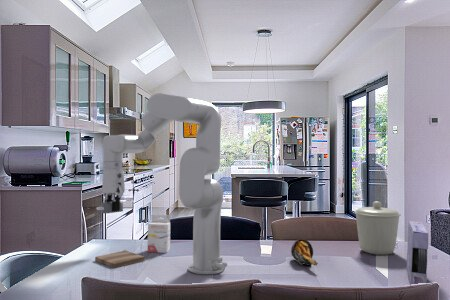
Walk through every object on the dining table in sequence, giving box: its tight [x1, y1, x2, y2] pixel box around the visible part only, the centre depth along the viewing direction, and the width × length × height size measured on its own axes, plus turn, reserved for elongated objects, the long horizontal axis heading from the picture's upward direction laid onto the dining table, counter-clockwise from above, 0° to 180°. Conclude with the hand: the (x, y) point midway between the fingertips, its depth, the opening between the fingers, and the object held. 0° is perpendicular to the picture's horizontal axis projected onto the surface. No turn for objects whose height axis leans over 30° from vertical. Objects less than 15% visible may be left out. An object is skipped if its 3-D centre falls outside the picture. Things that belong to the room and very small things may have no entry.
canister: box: [354, 200, 402, 256], centre depth 161 cm, size 18×18×21 cm
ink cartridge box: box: [147, 214, 171, 254], centre depth 160 cm, size 9×5×15 cm, turn 84°
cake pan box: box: [406, 220, 429, 285], centre depth 126 cm, size 19×5×18 cm, turn 158°
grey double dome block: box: [96, 200, 124, 214], centre depth 158 cm, size 4×11×4 cm, turn 137°
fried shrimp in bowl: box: [290, 238, 319, 267], centre depth 143 cm, size 9×11×18 cm
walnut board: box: [94, 250, 146, 269], centre depth 146 cm, size 13×13×2 cm
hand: (112, 210), depth 158 cm, fingers closed on grey double dome block, 4 cm apart
